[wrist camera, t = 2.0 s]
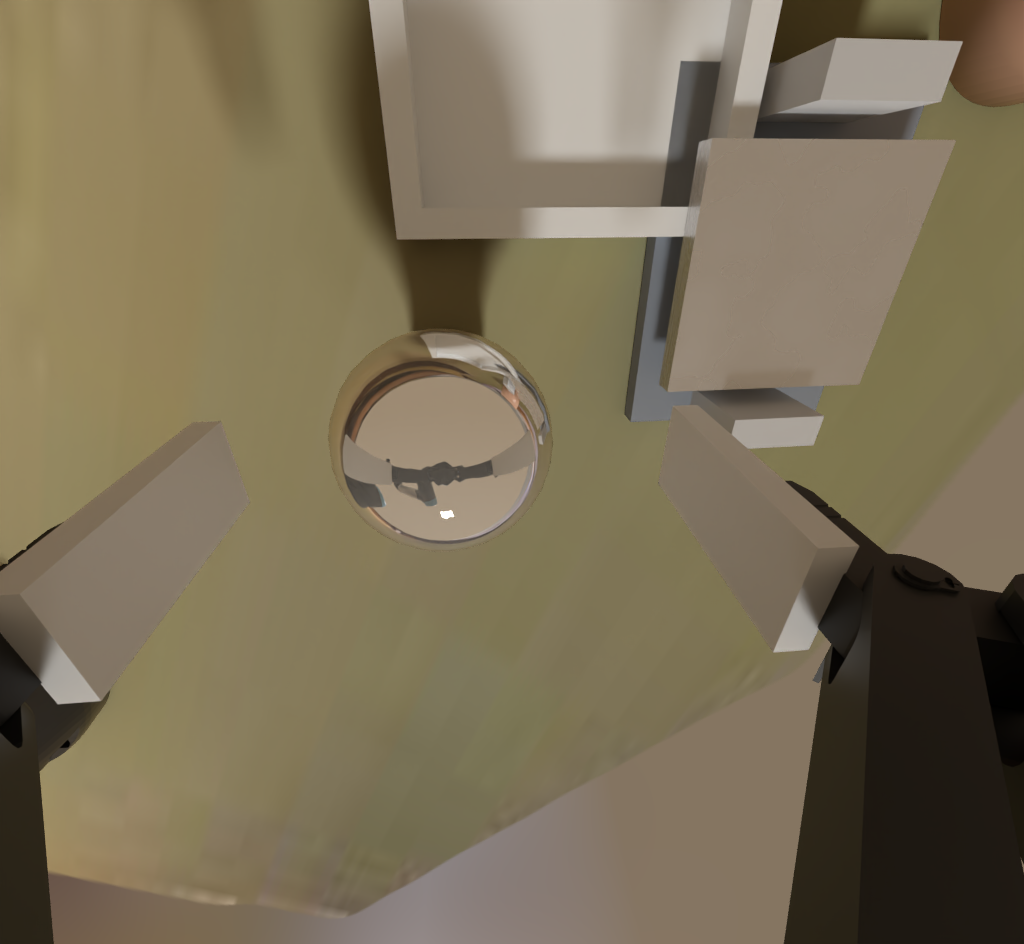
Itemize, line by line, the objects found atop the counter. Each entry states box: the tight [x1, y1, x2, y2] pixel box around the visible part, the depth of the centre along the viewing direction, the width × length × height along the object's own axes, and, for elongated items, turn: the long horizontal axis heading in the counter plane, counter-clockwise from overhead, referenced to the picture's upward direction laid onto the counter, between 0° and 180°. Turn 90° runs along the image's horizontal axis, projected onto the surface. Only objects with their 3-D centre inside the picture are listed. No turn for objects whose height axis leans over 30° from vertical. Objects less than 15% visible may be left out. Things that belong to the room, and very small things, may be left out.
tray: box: [369, 0, 783, 239], centre depth 15 cm, size 13×13×2 cm
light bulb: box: [328, 328, 553, 552], centre depth 17 cm, size 7×7×12 cm
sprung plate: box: [659, 138, 956, 392], centre depth 18 cm, size 9×9×1 cm
